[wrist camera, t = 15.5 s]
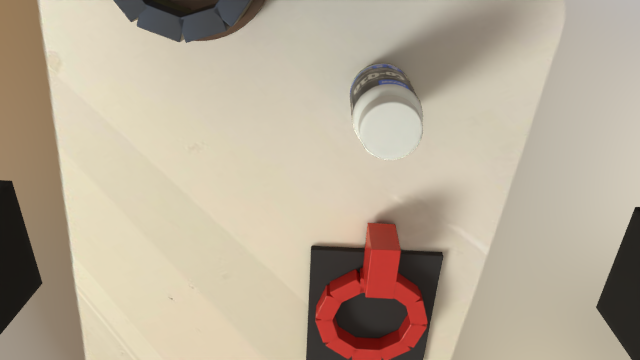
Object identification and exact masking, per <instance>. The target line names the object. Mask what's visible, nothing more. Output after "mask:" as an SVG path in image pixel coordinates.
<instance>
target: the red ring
mask: <svg viewBox="0 0 640 360" xmlns="http://www.w3.org/2000/svg"><path fill="white" fill-rule="evenodd" d="M400 253H401V249H400V245H399V240H398V236H397V231H396V226H395V224H380V223H368V227H367V236H366V244H365V253H364V262H363V268H360V274H359V272H358V271H357V270H356V269H355V270H353V271H351V272H349V273H347V274H345V275H343V276H341V277H339V278H337V279H335V280H333V281H331V282H330V285H326V287H325V289H324V291H323V293H322V295H321V297H320V299H319V302H318V304H317V306H316V324H317V327H318V330H319V332H320V335H321V338H322V341H323V343H325V342H326V346H327V347H329V348H330V349H332V350H334V351H335V352H337V353H339V354H340V355H342V356H343V357H345V358H347V359H349V358H350V357H351V356H352V360H381V359H382V358H383V359H384V360H389V359H391V358H394V357H396V356H398V355H400V354H403V353H405V352H407V351H410V350H411V349H410V347H415V345H416V343H417V342H418V340H419V339H420V337H421V336H422V334H423V333H424V331H425V330H426V328H427V324H428V321H427V317H426V312H425V308H424V303H423V299H422V295H421V291H420V290H419V289H418V286H416V285H415V284H414V283H412V282H411V281H409V280H408V279H406V278H405V277H404V276H402V275H401V274H399V273H398V266H399V260H400ZM360 293H365V297H369V298H388V299H393V298H395V299H396V300H398V301H399V302H401V303H402V304H404V305H405V306H406V308H407V312H408V315H407V316H406V318H405V319H404V321H403V323H402V324H401V326H400V328H399V329H398V330H396V331H394V332H392V333H389V334H387V335H385V336H383V337H380V338H360V337H355V336H353V335H351V334H350V333H348V332H347V331H345V330H343V329H342V328H340V327H339V326H338V324H337V321H336V318H335V314H336V312H337V310H338V309H339V307H340V305H341V303H342V302H344V301H346V300H348V299H350V298H352V297H354V296H356V295H358V294H360Z"/></svg>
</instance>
